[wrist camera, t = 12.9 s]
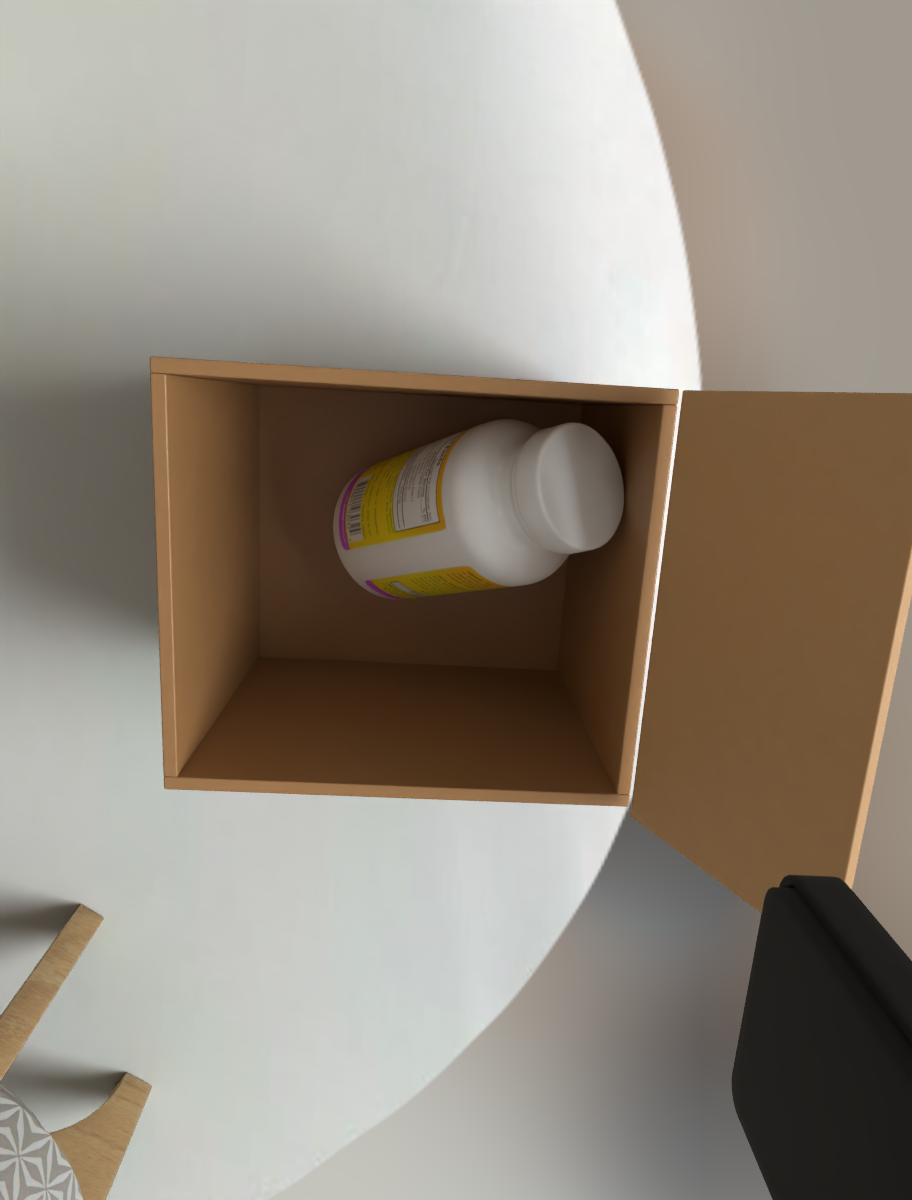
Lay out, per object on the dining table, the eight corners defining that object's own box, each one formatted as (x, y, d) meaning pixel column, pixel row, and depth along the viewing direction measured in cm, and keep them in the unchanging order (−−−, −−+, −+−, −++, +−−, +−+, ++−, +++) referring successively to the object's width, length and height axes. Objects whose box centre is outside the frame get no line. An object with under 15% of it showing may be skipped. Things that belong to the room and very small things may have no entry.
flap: (682, 390, 25) (692, 391, 25) (629, 816, 28) (638, 814, 28) (942, 393, 18) (953, 394, 18) (828, 963, 21) (838, 959, 21)
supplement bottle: (460, 559, 41) (664, 527, 31) (369, 626, 37) (568, 614, 27) (402, 442, 39) (600, 368, 29) (301, 500, 35) (488, 438, 25)
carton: (591, 395, 40) (680, 389, 25) (563, 676, 43) (628, 807, 29) (251, 373, 39) (149, 356, 25) (252, 662, 42) (163, 789, 28)
